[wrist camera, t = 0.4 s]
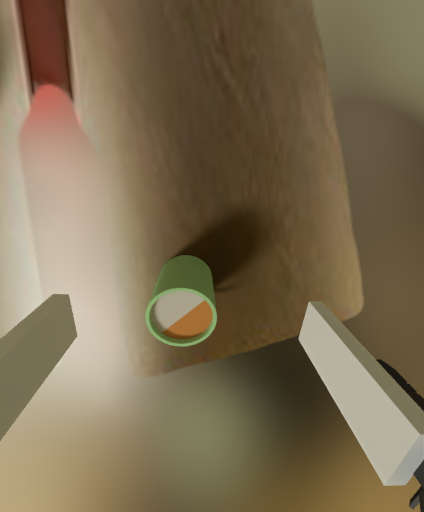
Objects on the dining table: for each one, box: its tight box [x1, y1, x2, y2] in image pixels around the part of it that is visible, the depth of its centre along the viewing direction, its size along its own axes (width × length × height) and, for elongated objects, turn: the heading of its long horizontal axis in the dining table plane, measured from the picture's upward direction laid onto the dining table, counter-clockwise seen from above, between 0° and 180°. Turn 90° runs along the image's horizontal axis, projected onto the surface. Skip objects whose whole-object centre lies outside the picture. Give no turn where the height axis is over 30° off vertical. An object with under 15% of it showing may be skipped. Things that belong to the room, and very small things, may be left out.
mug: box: [145, 255, 217, 346], centre depth 36 cm, size 13×10×12 cm
